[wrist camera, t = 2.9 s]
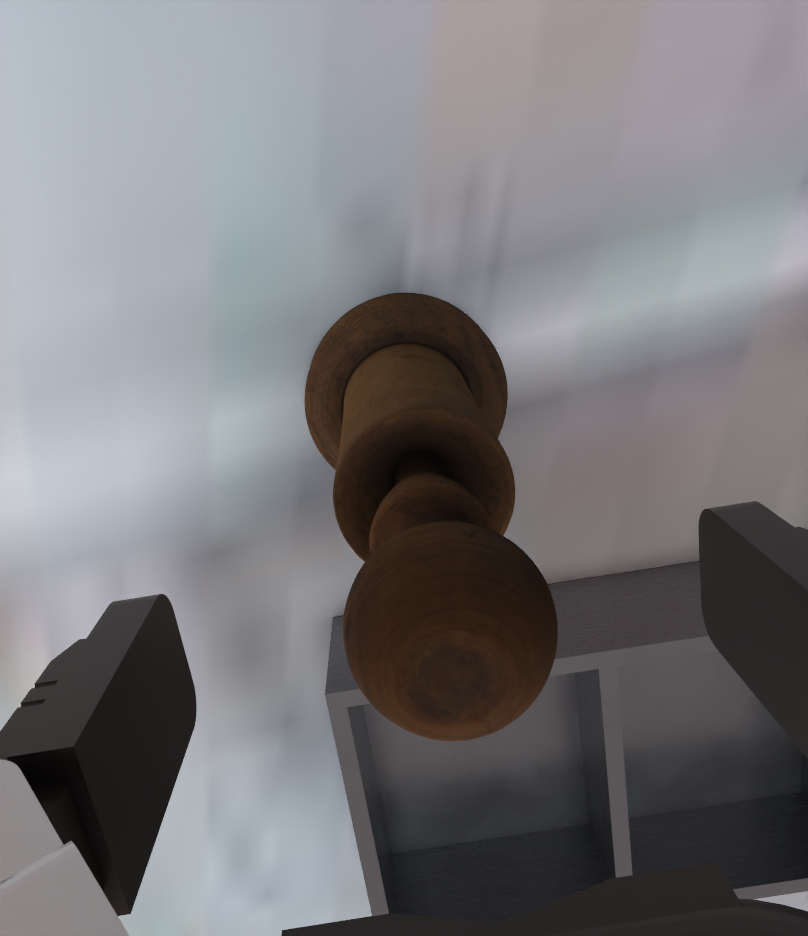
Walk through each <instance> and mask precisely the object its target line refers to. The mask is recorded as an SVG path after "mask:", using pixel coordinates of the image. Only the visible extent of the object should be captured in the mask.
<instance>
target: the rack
mask: <svg viewBox="0 0 808 936" xmlns="http://www.w3.org/2000/svg"><path fill="white" fill-rule="evenodd" d="M548 587H549V590H550V592H551V595H552V598H553V601H554V604H555V609H556V615H557V623H558V640H557V649H556V655H555V659H554V663H553V666H552V669H551V672H550V675H549V677H548V679H547V681H546V684H545V685H544V687H543V689H542V691H541V692H540V694H539V695H538V697H537V698H536V700H535V701H534V702H533V703H532V705H531V706H530V707H529V708H528V709H527V710H526V711H525V712H524V713H523V714H522V715H521V716H520V717H518V718H517V719H516V720H515V721H513V722H512V723H510V724H509V725H507V726H506V727H504V728H502V729H501V730H499V731H497V732H494V733H492V734H489V735H486V736H484V737H481V738H477V739H472V740H467V741H439V740H433V739H429V738H425V737H422V736H418V735H416V734H413V733H411V732H408V731H406V730H404V729H402V728H401V727H399V726H397V725H395V724H394V723H392V722H391V721H389V720H388V719H387V718H385V717H384V716H383V715H382V714H381V713H379V712H378V711H377V710H376V709H375V708H374V707H373V706H372V705H371V703H370V702H369V701H368V700H367V698H366V697H365V696H364V694H363V693H362V692H361V690H360V688H359V687H358V685H357V683H356V681H355V679H354V677H353V675H352V672H351V670H350V667H349V664H348V661H347V658H346V653H345V648H344V641H343V619H344V616H340V617H334V618H333V623H332V633H331V642H330V652H329V662H328V672H327V682H326V692H325V695H326V700H327V705H328V710H329V714H330V719H331V724H332V728H333V733H334V738H335V743H336V747H337V752H338V757H339V761H340V766H341V771H342V776H343V780H344V785H345V790H346V794H347V799H348V804H349V809H350V813H351V818H352V823H353V827H354V832H355V837H356V841H357V846H358V851H359V856H360V860H361V865H362V870H363V874H364V879H365V884H366V889H367V893H368V898H369V903H370V907H371V912H372V916H377V915H383V914H402V915H416V916H429V917H443V918H456V919H470V920H483V921H505V920H510V919H513V918H516V917H519V916H521V915H524V914H526V913H529V912H531V911H533V910H536V909H538V908H541V907H543V906H546V905H548V904H550V903H553V902H555V901H558V900H560V899H562V898H565V897H567V896H570V895H572V894H575V893H577V892H579V891H582V890H584V889H587V888H589V887H592V886H594V885H596V884H599V883H601V882H604V881H606V880H609V879H611V878H618V877H624V876H630V875H637V874H643V873H649V872H656V871H662V870H669V869H675V868H681V867H688V866H694V865H700V864H707V863H713V862H718V863H719V865H720V867H721V868H722V870H723V872H724V874H725V876H726V877H727V879H728V881H729V883H730V885H731V886H732V888H733V890H734V892H735V894H736V896H737V897H738V898H740V899H757V898H764V897H771V896H777V895H784V894H791V893H797V892H804V891H808V759H807V758H806V757H805V755H804V754H803V753H802V752H801V750H800V749H799V748H798V747H797V746H796V744H795V743H794V742H793V741H792V740H791V738H790V737H789V736H788V735H787V733H786V732H785V731H784V730H783V729H782V727H781V726H780V725H779V724H778V723H777V721H776V720H775V719H774V718H773V717H772V715H771V714H770V713H769V712H768V710H767V709H766V708H765V707H764V706H763V704H762V703H761V702H760V701H759V700H758V698H757V697H756V696H755V695H754V693H753V692H752V691H751V690H750V689H749V687H748V686H747V685H746V684H745V683H744V681H743V680H742V679H741V678H740V677H739V675H738V674H737V673H736V672H735V670H734V669H733V668H732V667H731V666H730V664H729V663H728V662H727V661H726V660H725V658H724V657H723V656H722V655H721V653H720V652H719V651H718V650H717V649H716V647H715V646H714V644H713V643H712V641H711V639H710V637H709V635H708V632H707V629H706V626H705V623H704V619H703V614H702V608H701V584H700V561H699V562H692V563H686V564H679V565H673V566H666V567H660V568H653V569H647V570H640V571H634V572H627V573H621V574H614V575H608V576H601V577H594V578H588V579H581V580H575V581H568V582H562V583H555V584H549V585H548Z"/></svg>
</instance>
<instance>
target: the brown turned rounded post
mask: <svg viewBox="0 0 808 936" xmlns="http://www.w3.org/2000/svg"><path fill="white" fill-rule="evenodd" d="M507 396H508V394H507V381H506V376H505V371H504V368H503V364H502V362H501V359H500V357H499V355H498V353H497V351H496V349H495V347H494V346H493V344H492V342H491V341H490V340H489V338H488V337H487V336H486V334H485V333H484V332H483V331H482V330H481V328H480V327H479V326H478V325H477V324H476V323H475V322H474V321H473V320H472V319H471V318H470V317H469V316H468V315H466V314H465V313H464V312H463V311H461V310H460V309H458V308H457V307H455V306H453V305H451V304H449V303H447V302H445V301H443V300H440V299H438V298H435V297H431V296H427V295H423V294H416V293H395V294H389V295H384V296H380V297H377V298H374V299H371V300H369V301H366V302H364V303H362V304H360V305H358V306H357V307H355V308H353V309H352V310H350V311H349V312H347V313H346V314H345V315H344V316H342V317H341V318H340V319H339V320H338V321H337V322H336V323H335V324H334V325H333V326H332V327H331V328H330V330H329V331H328V332H327V333H326V335H325V336H324V338H323V339H322V341H321V343H320V344H319V346H318V348H317V350H316V352H315V354H314V357H313V360H312V363H311V366H310V370H309V373H308V377H307V382H306V388H305V412H306V419H307V424H308V427H309V430H310V433H311V436H312V438H313V440H314V442H315V444H316V446H317V448H318V449H319V451H320V453H321V454H322V455H323V457H324V458H325V459H326V461H327V462H328V463H329V464H330V465H331V466H332V467H333V468H334V469H335V470H336V473H335V480H334V488H333V502H334V510H335V515H336V519H337V522H338V525H339V527H340V530H341V532H342V534H343V536H344V538H345V539H346V541H347V542H348V544H349V545H350V547H351V548H352V549H353V550H354V552H355V553H356V554H357V555H358V556H359V557H360V558H361V559H362V560H363V561H365V563H364V565H363V566H362V568H361V569H360V571H359V572H358V574H357V576H356V578H355V580H354V583H353V585H352V587H351V590H350V593H349V596H348V599H347V602H346V607H345V612H344V619H343V641H344V648H345V653H346V658H347V661H348V664H349V667H350V670H351V672H352V675H353V677H354V679H355V681H356V683H357V685H358V687H359V688H360V690H361V692H362V693H363V694H364V696H365V697H366V698H367V700H368V701H369V702H370V703H371V705H372V706H373V707H374V708H375V709H376V710H377V711H378V712H379V713H381V714H382V715H383V716H384V717H385V718H387V719H388V720H389V721H391V722H392V723H394V724H395V725H397V726H399V727H401V728H402V729H404V730H406V731H408V732H411V733H413V734H416V735H418V736H422V737H425V738H429V739H433V740H439V741H467V740H472V739H477V738H481V737H484V736H486V735H489V734H492V733H494V732H497V731H499V730H501V729H502V728H504V727H506V726H507V725H509V724H510V723H512V722H513V721H515V720H516V719H517V718H518V717H520V716H521V715H522V714H523V713H524V712H525V711H526V710H527V709H528V708H529V707H530V706H531V705H532V703H533V702H534V701H535V700H536V698H537V697H538V695H539V694H540V692H541V691H542V689H543V687H544V685H545V684H546V681H547V679H548V677H549V675H550V672H551V669H552V666H553V663H554V659H555V655H556V649H557V640H558V623H557V615H556V609H555V604H554V601H553V598H552V595H551V592H550V590H549V587H548V585H547V583H546V581H545V579H544V577H543V576H542V574H541V572H540V571H539V569H538V568H537V566H536V565H535V564H534V562H533V561H532V560H531V559H530V558H529V557H528V555H527V554H526V553H525V552H524V551H523V550H521V549H520V548H519V547H518V546H517V545H516V544H514V543H513V542H512V541H510V540H509V539H507V538H505V537H504V536H503V535H504V533H505V531H506V529H507V527H508V525H509V522H510V519H511V516H512V513H513V508H514V502H515V483H514V476H513V472H512V468H511V465H510V462H509V459H508V457H507V455H506V453H505V451H504V449H503V447H502V446H501V444H500V442H499V441H498V439H497V438H498V436H499V434H500V431H501V429H502V426H503V422H504V419H505V414H506V408H507Z"/></svg>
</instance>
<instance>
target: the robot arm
mask: <svg viewBox="0 0 808 936" xmlns="http://www.w3.org/2000/svg"><path fill="white" fill-rule="evenodd" d="M699 554H700V584H701V608H702V614H703V619H704V623H705V626H706V629H707V632H708V635H709V637H710V639H711V641H712V643H713V644H714V646H715V647H716V649H717V650H718V651H719V652H720V653H721V655H722V656H723V657H724V658H725V660H726V661H727V662H728V663H729V664H730V666H731V667H732V668H733V669H734V670H735V672H736V673H737V674H738V675H739V677H740V678H741V679H742V680H743V681H744V683H745V684H746V685H747V686H748V687H749V689H750V690H751V691H752V692H753V693H754V695H755V696H756V697H757V698H758V700H759V701H760V702H761V703H762V704H763V706H764V707H765V708H766V709H767V710H768V712H769V713H770V714H771V715H772V717H773V718H774V719H775V720H776V721H777V723H778V724H779V725H780V726H781V727H782V729H783V730H784V731H785V732H786V733H787V735H788V736H789V737H790V738H791V740H792V741H793V742H794V743H795V744H796V746H797V747H798V748H799V749H800V750H801V752H802V753H803V754H804V755H805V757H806V758H807V759H808V530H807V529H804V528H801V527H797V528H794V527H793V526H792V525H790V524H789V523H787V522H786V521H784V520H783V519H782V518H780V517H779V516H777V515H776V514H775V513H773V512H772V511H770V510H769V509H768V508H766V507H765V506H763V505H762V504H760V503H759V502H755V501H754V502H748V503H741V504H735V505H729V506H722V507H716V508H710V509H705V510H703V511H702V513H701V515H700V519H699ZM195 721H196V695H195V688H194V684H193V680H192V676H191V672H190V669H189V665H188V662H187V658H186V654H185V651H184V647H183V643H182V640H181V636H180V632H179V629H178V625H177V621H176V618H175V614H174V611H173V607H172V605H171V603H170V601H169V599H168V598H167V596H165V595H164V594H159V595H153V596H146V597H140V598H134V599H127V600H121V601H115V602H112V603H111V604H110V605H109V606H108V608H107V609H106V611H105V612H104V613H103V615H102V616H101V618H100V619H99V621H98V622H97V624H96V625H95V627H94V628H93V630H92V631H91V633H90V634H89V636H88V637H87V639H80V640H78V641H77V642H75V643H74V644H73V645H71V646H70V647H69V648H68V649H66V650H65V651H64V652H62V653H61V654H60V655H59V656H57V657H56V658H55V659H53V660H52V661H51V662H50V663H49V665H48V666H47V668H46V669H45V670H44V672H43V673H42V674H41V676H40V677H39V679H38V680H37V681H36V683H35V688H32V689H31V690H30V691H29V692H28V694H27V695H26V697H25V698H24V699H23V701H22V702H21V707H20V708H17V709H16V710H15V712H14V713H13V715H12V716H11V717H10V719H9V720H8V722H7V723H6V724H5V726H4V727H3V729H2V730H1V731H0V936H129V935H128V933H127V931H126V930H125V928H124V926H123V924H122V923H121V921H120V919H119V918H118V916H120V915H126V914H131V911H132V908H133V905H134V902H135V899H136V896H137V893H138V890H139V887H140V885H141V882H142V879H143V876H144V873H145V870H146V867H147V864H148V861H149V858H150V855H151V852H152V849H153V847H154V844H155V841H156V838H157V835H158V832H159V829H160V826H161V823H162V820H163V817H164V814H165V811H166V808H167V806H168V803H169V800H170V797H171V794H172V791H173V788H174V785H175V782H176V779H177V776H178V773H179V770H180V768H181V765H182V762H183V759H184V756H185V753H186V750H187V747H188V744H189V741H190V738H191V735H192V732H193V730H194V726H195ZM282 936H808V911H804V910H800V909H796V908H793V907H789V906H785V905H781V904H776V903H770V902H764V901H758V900H751V899H740V898H738V897H737V896H736V894H735V892H734V890H733V888H732V886H731V885H730V883H729V881H728V879H727V877H726V876H725V874H724V872H723V870H722V868H721V867H720V865H719V863H718V862H713V863H707V864H700V865H694V866H688V867H681V868H675V869H669V870H662V871H656V872H649V873H643V874H637V875H630V876H624V877H618V878H611V879H609V880H606V881H604V882H601V883H599V884H596V885H594V886H592V887H589V888H587V889H584V890H582V891H579V892H577V893H575V894H572V895H570V896H567V897H565V898H562V899H560V900H558V901H555V902H553V903H550V904H548V905H546V906H543V907H541V908H538V909H536V910H533V911H531V912H529V913H526V914H524V915H521V916H519V917H516V918H513V919H510V920H505V921H483V920H470V919H456V918H443V917H429V916H416V915H402V914H383V915H377V916H370V917H364V918H358V919H351V920H345V921H338V922H332V923H326V924H319V925H313V926H307V927H300V928H294V929H288V930H282Z"/></svg>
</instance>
